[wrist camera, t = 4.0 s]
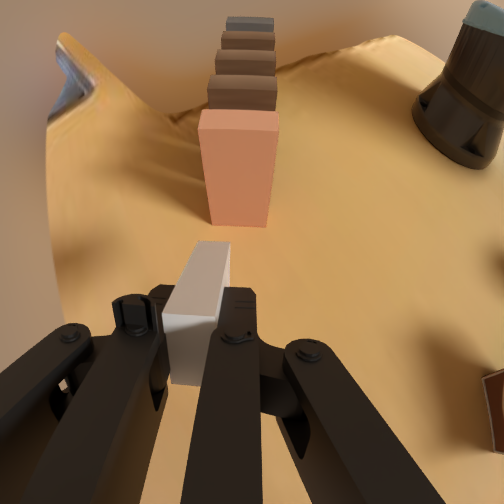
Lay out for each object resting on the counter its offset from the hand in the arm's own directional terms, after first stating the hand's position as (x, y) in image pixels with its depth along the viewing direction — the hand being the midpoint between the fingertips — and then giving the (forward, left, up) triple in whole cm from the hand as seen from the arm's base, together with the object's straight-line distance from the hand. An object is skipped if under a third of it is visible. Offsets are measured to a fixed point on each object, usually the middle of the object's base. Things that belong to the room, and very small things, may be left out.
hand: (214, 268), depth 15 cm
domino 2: (-9, -11, -11) cm, 18 cm away
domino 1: (-6, -8, -11) cm, 15 cm away
